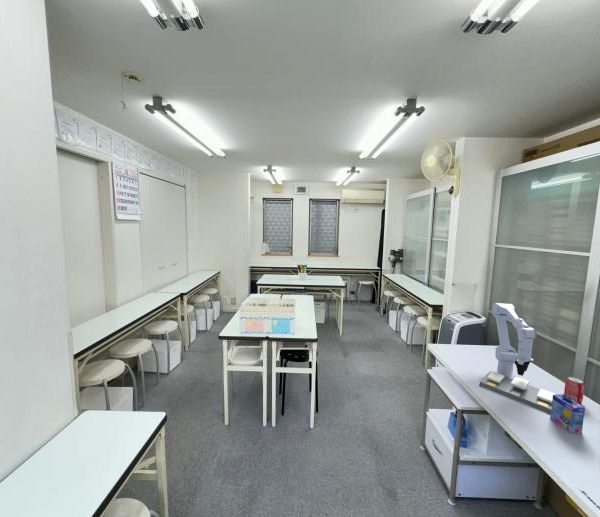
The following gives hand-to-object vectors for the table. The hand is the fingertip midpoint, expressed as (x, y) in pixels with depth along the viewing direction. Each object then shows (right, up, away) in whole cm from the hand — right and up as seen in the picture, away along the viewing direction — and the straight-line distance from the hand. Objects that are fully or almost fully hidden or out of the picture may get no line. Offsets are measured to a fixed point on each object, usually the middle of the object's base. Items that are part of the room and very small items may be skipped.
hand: (522, 372), depth 150 cm
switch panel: (-2, -11, -1) cm, 11 cm away
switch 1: (-9, -7, +8) cm, 14 cm away
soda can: (+20, -12, -7) cm, 25 cm away
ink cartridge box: (-1, -14, -25) cm, 29 cm away
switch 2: (-2, -6, -1) cm, 6 cm away
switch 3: (+5, -9, -9) cm, 14 cm away
